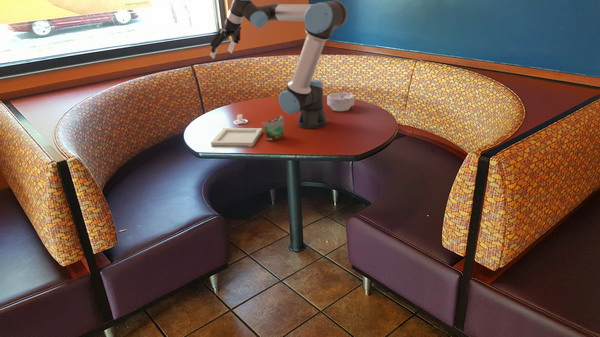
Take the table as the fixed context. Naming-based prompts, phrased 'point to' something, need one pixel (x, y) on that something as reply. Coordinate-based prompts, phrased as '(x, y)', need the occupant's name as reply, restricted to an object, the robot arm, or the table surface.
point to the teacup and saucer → (240, 120)
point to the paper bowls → (340, 101)
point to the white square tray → (237, 137)
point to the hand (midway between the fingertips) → (221, 54)
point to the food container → (274, 129)
